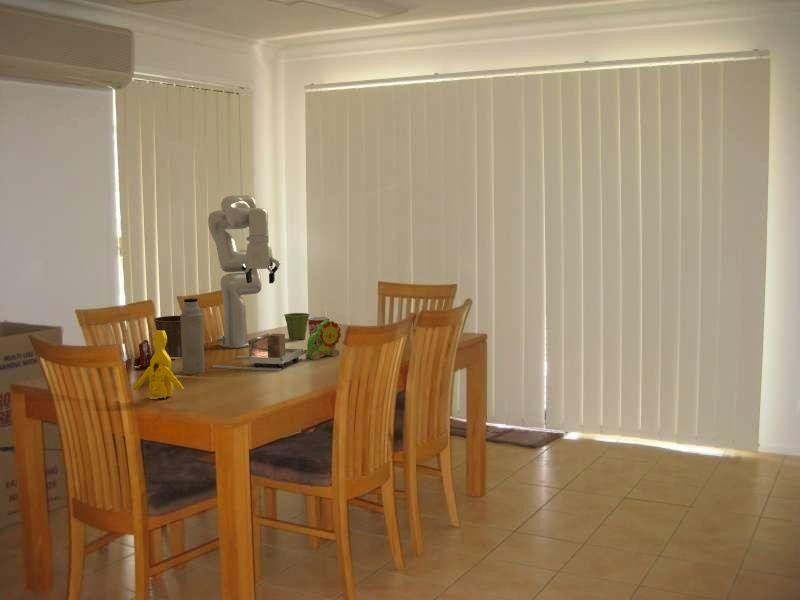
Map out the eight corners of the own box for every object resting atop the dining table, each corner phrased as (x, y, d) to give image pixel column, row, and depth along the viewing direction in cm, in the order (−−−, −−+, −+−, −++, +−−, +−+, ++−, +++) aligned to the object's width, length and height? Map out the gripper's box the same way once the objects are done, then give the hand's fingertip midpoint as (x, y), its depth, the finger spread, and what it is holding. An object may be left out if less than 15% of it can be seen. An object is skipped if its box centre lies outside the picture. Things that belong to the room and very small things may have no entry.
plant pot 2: (309, 341, 416) (308, 315, 414) (282, 341, 416) (281, 316, 414) (312, 336, 427) (311, 312, 426) (286, 337, 427) (285, 312, 426)
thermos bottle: (190, 371, 349) (187, 297, 346) (209, 372, 347) (206, 297, 343) (178, 375, 342) (175, 299, 339) (197, 376, 339) (194, 300, 336)
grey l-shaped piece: (246, 368, 348) (245, 340, 347) (269, 359, 367) (268, 332, 366) (282, 370, 344) (281, 342, 342) (303, 360, 363) (302, 333, 361)
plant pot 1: (203, 357, 379) (201, 318, 377) (166, 362, 369) (164, 322, 367) (185, 352, 391) (183, 314, 390) (148, 357, 381) (147, 318, 379)
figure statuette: (129, 400, 303) (126, 333, 300) (139, 394, 311) (136, 329, 308) (182, 401, 301) (179, 333, 298) (191, 395, 308) (188, 329, 306)
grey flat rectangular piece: (212, 370, 352) (212, 365, 351) (237, 360, 372) (237, 356, 371) (280, 373, 343) (280, 368, 343) (302, 362, 363) (302, 358, 363)
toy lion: (313, 362, 365) (312, 323, 363) (304, 360, 368) (303, 322, 367) (344, 356, 376) (343, 319, 374) (335, 355, 379) (334, 318, 378)
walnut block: (267, 356, 353) (267, 335, 352) (273, 354, 358) (272, 333, 357) (280, 356, 352) (279, 335, 351) (285, 354, 356) (284, 333, 355)
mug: (329, 351, 388) (328, 319, 386) (307, 351, 388) (306, 319, 386) (331, 346, 400) (330, 315, 399) (310, 346, 400) (309, 315, 398)
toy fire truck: (159, 364, 365) (158, 338, 364) (151, 370, 353) (150, 343, 352) (141, 364, 365) (140, 338, 364) (133, 370, 353) (131, 343, 352)
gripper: (234, 240, 369) (236, 283, 371) (275, 240, 364) (276, 284, 366) (243, 239, 376) (245, 281, 378) (282, 239, 371) (284, 282, 373)
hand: (260, 282), depth 372 cm, fingers open, 9 cm apart
